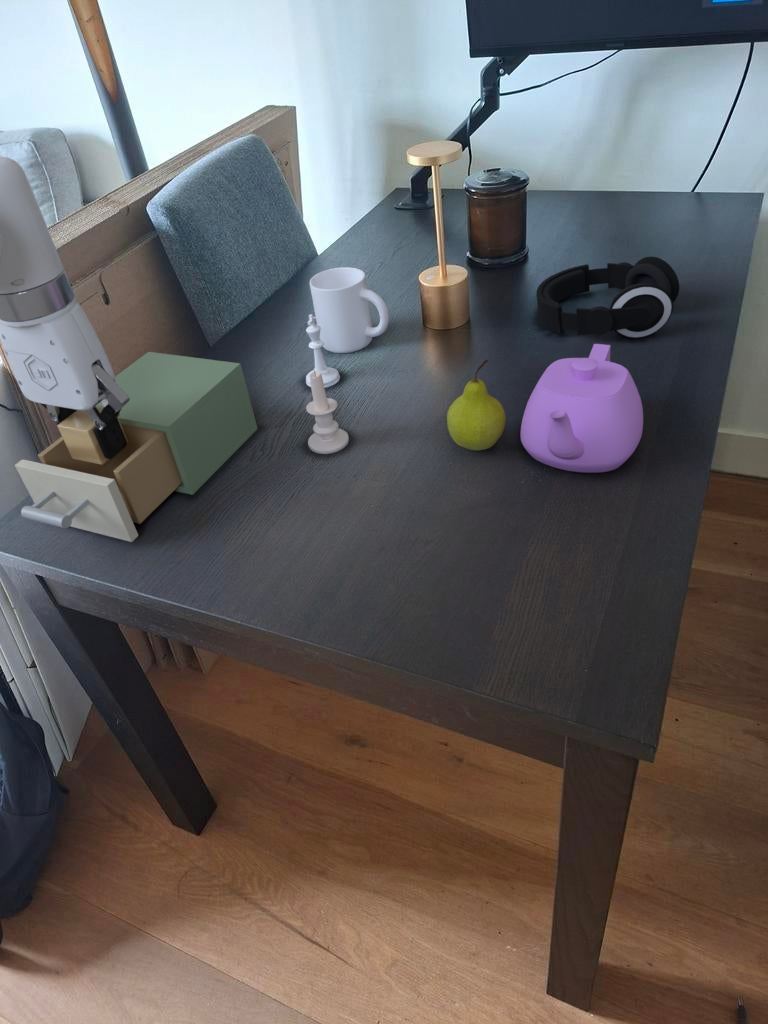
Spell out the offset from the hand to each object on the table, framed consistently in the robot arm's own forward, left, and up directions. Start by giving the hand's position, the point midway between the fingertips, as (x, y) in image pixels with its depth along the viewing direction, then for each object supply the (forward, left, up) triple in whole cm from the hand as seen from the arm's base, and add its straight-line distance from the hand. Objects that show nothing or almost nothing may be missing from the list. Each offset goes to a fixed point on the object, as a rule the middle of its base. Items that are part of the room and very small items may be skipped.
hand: (98, 447), depth 86 cm
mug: (+38, +24, -9) cm, 46 cm away
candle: (+26, 0, -9) cm, 27 cm away
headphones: (+73, +11, -9) cm, 74 cm away
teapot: (+52, -17, -9) cm, 55 cm away
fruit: (+42, -10, -9) cm, 44 cm away
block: (0, 0, -1) cm, 1 cm away
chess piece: (+30, +16, -9) cm, 35 cm away
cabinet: (+8, +8, -8) cm, 14 cm away
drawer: (-1, -1, -8) cm, 8 cm away
